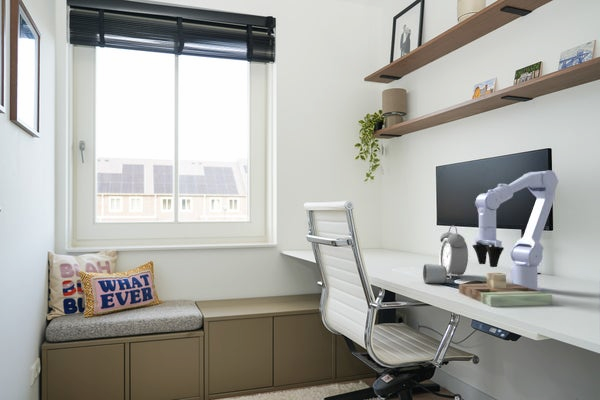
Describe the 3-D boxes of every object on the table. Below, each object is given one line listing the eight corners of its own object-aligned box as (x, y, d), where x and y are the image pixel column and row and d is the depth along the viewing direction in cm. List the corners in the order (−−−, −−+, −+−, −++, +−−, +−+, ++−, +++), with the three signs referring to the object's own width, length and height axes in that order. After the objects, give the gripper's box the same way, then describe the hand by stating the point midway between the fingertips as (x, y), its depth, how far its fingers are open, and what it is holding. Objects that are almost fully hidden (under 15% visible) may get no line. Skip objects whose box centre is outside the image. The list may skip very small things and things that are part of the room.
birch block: (486, 285, 160) (486, 272, 160) (499, 285, 160) (499, 272, 160) (493, 288, 155) (493, 274, 155) (506, 288, 156) (506, 274, 156)
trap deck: (459, 292, 163) (459, 284, 164) (512, 291, 165) (512, 282, 165) (490, 306, 142) (490, 296, 142) (552, 304, 144) (552, 294, 144)
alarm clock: (437, 274, 207) (437, 224, 207) (456, 273, 207) (456, 224, 207) (449, 280, 190) (448, 226, 191) (470, 279, 190) (470, 226, 191)
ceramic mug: (447, 284, 179) (447, 264, 180) (426, 284, 180) (426, 264, 180) (440, 280, 190) (440, 262, 190) (420, 280, 190) (420, 261, 191)
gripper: (466, 226, 171) (467, 263, 171) (487, 228, 156) (488, 268, 156) (484, 226, 172) (485, 262, 172) (507, 228, 157) (507, 268, 157)
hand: (487, 265), depth 164 cm, fingers open, 7 cm apart
